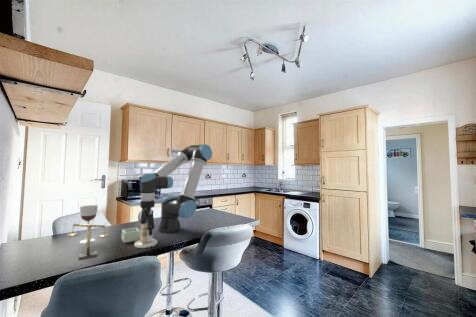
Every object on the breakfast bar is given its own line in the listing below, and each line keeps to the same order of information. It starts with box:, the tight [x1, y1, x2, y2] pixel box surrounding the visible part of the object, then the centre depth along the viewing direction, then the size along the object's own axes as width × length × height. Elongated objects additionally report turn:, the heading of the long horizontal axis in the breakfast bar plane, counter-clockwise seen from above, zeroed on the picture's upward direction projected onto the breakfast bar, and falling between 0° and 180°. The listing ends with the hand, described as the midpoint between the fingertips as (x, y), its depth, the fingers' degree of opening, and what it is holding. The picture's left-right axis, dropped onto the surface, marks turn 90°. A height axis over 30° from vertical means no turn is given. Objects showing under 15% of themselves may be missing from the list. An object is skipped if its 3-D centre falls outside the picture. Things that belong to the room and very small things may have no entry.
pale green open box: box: [121, 227, 140, 244], centre depth 128 cm, size 8×8×6 cm
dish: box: [134, 238, 159, 249], centre depth 120 cm, size 12×12×1 cm
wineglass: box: [79, 204, 99, 244], centre depth 125 cm, size 8×9×20 cm
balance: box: [66, 223, 110, 260], centre depth 103 cm, size 17×5×16 cm, turn 128°
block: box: [139, 224, 152, 244], centre depth 120 cm, size 5×5×9 cm
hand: (146, 238), depth 120 cm, fingers open, 13 cm apart
